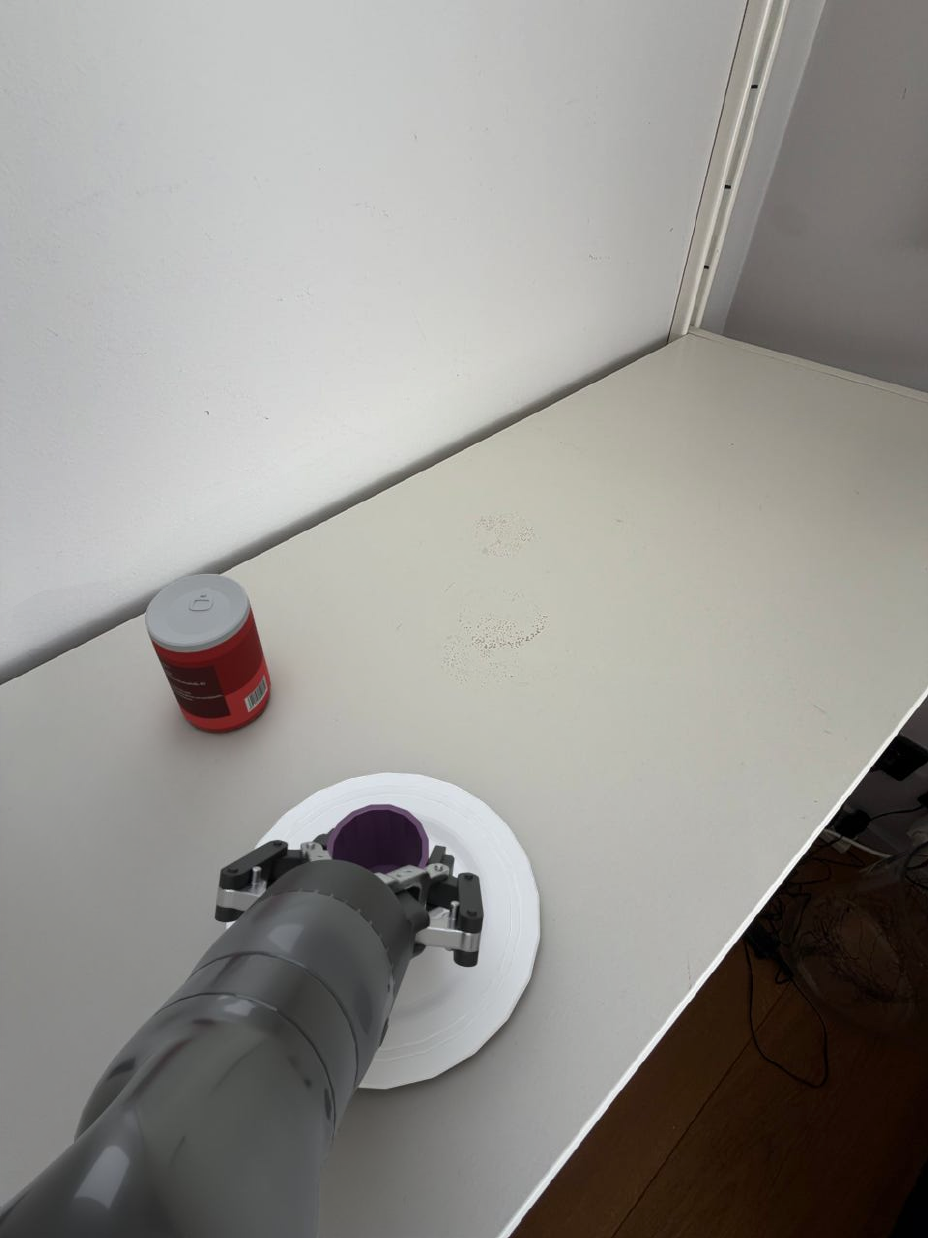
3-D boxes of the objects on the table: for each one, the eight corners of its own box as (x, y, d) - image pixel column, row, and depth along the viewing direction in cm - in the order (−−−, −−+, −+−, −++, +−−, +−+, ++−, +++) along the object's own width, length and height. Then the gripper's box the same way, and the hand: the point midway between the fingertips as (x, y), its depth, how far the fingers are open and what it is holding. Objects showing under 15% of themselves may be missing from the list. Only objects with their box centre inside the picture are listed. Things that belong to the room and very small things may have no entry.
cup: (356, 969, 44) (344, 917, 39) (328, 884, 48) (313, 825, 43) (444, 929, 46) (444, 875, 41) (410, 850, 50) (406, 790, 44)
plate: (517, 1133, 40) (520, 1126, 39) (173, 1055, 43) (165, 1046, 41) (552, 809, 55) (555, 796, 53) (294, 764, 57) (290, 750, 56)
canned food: (267, 655, 65) (243, 564, 57) (278, 723, 60) (254, 633, 52) (179, 673, 63) (143, 582, 56) (183, 745, 58) (143, 656, 50)
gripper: (489, 926, 28) (506, 812, 45) (145, 865, 29) (287, 776, 46) (464, 1113, 28) (491, 929, 45) (123, 1043, 30) (272, 890, 46)
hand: (387, 852), depth 45 cm, fingers closed on cup, 6 cm apart
